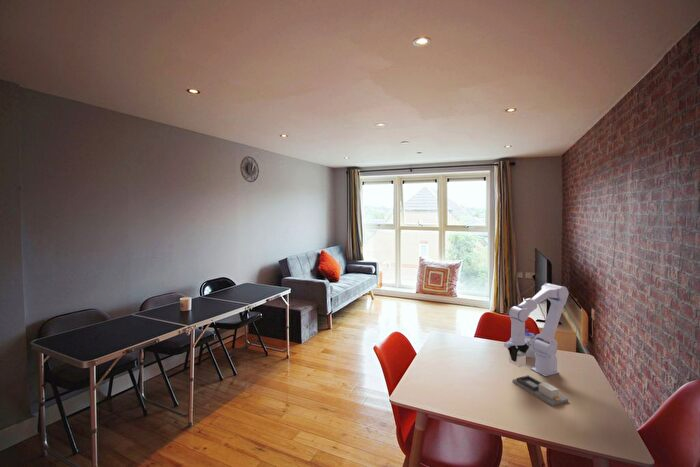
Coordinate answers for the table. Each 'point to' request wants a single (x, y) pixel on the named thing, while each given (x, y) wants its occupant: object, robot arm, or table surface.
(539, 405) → the table surface
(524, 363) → the plug
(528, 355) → the ink cartridge box
